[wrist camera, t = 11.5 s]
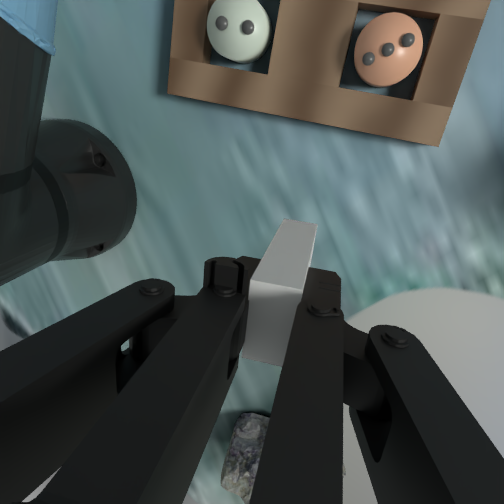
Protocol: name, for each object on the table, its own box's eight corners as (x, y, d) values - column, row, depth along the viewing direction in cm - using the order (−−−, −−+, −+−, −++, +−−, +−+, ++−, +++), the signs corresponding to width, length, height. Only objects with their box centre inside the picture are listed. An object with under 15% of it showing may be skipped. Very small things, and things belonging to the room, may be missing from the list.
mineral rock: (350, 455, 46) (350, 540, 37) (291, 489, 50) (277, 573, 41) (274, 386, 45) (254, 455, 36) (220, 427, 50) (190, 497, 40)
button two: (215, 59, 34) (202, 53, 31) (222, -3, 32) (210, -15, 29) (266, 67, 33) (258, 63, 30) (277, 4, 31) (269, -7, 28)
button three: (347, 82, 32) (347, 79, 29) (363, 17, 30) (364, 7, 27) (405, 92, 31) (410, 90, 28) (425, 26, 29) (433, 16, 26)
